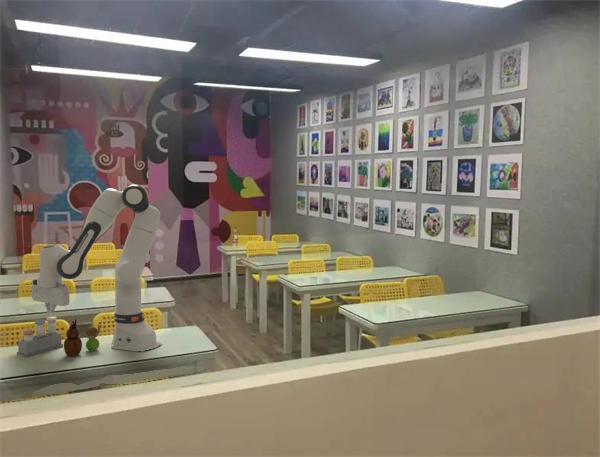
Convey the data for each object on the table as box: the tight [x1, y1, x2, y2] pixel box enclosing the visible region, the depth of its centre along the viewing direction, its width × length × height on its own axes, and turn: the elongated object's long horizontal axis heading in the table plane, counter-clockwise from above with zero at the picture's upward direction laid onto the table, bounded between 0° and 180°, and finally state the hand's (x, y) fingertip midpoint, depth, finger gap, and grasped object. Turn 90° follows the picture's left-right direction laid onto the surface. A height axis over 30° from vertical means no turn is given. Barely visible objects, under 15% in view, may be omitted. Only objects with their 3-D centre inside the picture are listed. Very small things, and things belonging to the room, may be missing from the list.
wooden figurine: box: [63, 318, 83, 357], centre depth 214 cm, size 7×6×15 cm
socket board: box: [16, 331, 64, 358], centre depth 220 cm, size 7×17×6 cm, turn 153°
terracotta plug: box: [22, 329, 35, 342], centre depth 215 cm, size 4×4×8 cm
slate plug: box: [34, 318, 46, 339], centre depth 220 cm, size 4×4×8 cm
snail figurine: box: [85, 321, 102, 352], centre depth 222 cm, size 5×6×12 cm
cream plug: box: [45, 316, 58, 335], centre depth 225 cm, size 4×4×8 cm
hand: (50, 313), depth 224 cm, fingers closed
